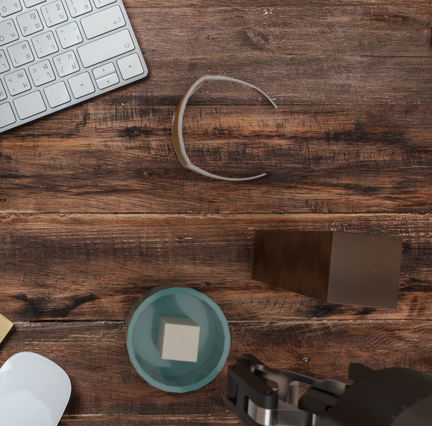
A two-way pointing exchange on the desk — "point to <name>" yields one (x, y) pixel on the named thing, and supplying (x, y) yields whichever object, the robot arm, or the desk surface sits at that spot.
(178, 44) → the desk surface
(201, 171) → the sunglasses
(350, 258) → the block
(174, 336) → the block
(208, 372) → the bowl
